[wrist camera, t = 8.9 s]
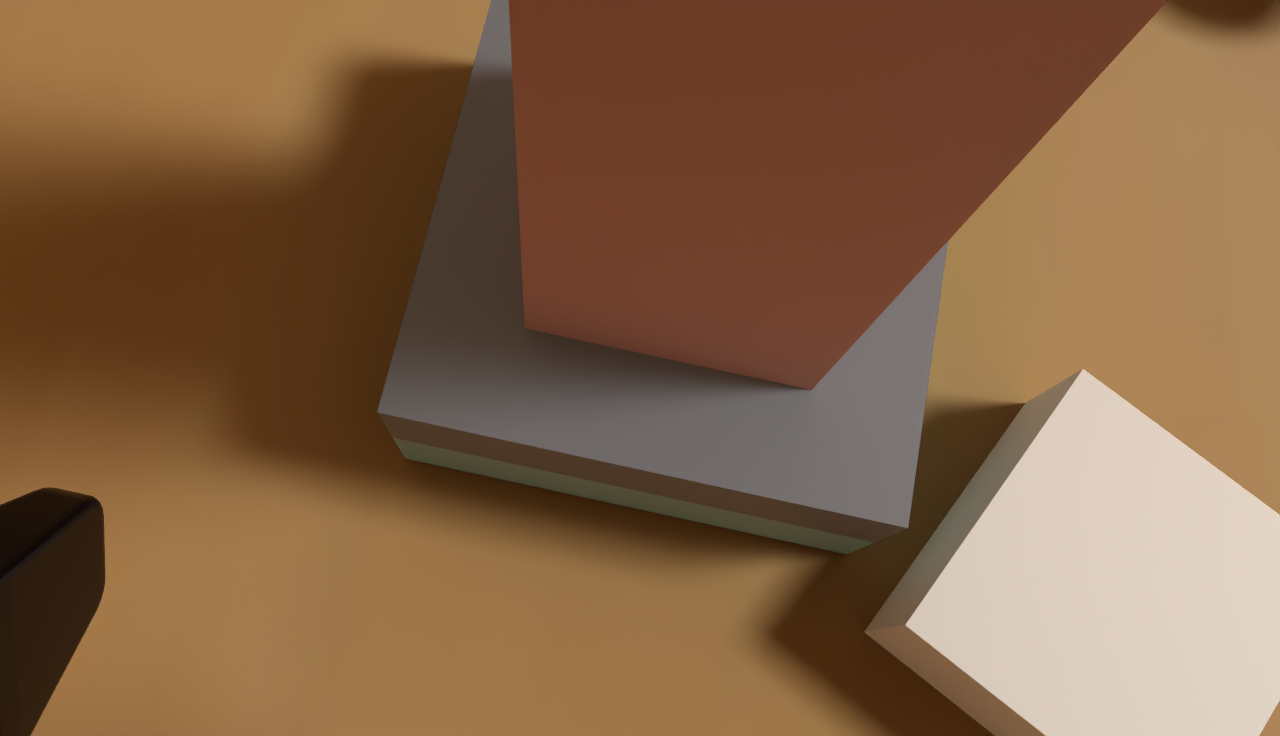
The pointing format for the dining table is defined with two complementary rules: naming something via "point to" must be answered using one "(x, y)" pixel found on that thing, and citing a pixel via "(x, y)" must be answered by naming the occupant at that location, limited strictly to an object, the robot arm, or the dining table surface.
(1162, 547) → the brick
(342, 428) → the dining table surface
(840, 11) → the tall brick
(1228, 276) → the dining table surface
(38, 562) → the robot arm
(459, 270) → the brick base
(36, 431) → the dining table surface
